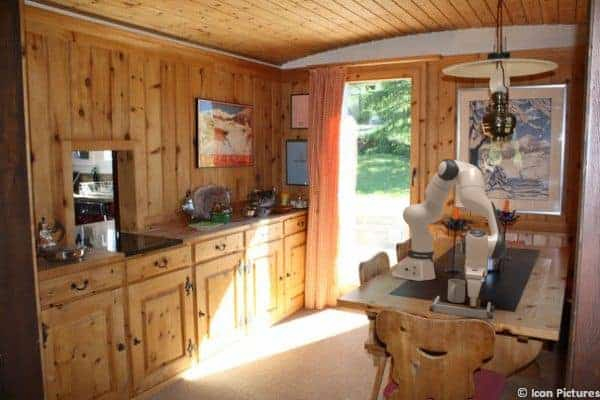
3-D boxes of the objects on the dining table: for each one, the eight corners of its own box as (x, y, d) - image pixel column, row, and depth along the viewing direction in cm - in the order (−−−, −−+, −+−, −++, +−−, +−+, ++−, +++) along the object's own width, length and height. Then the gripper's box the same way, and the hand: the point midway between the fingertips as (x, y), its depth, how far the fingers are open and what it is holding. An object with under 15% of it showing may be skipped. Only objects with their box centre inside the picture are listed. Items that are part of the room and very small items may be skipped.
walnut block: (468, 312, 207) (469, 300, 207) (469, 309, 211) (470, 298, 210) (479, 313, 206) (479, 302, 205) (479, 311, 209) (480, 299, 209)
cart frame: (429, 311, 209) (429, 304, 208) (433, 302, 221) (434, 295, 220) (492, 319, 199) (492, 312, 199) (493, 309, 211) (494, 302, 210)
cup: (466, 300, 224) (467, 280, 223) (459, 305, 216) (460, 285, 215) (450, 297, 228) (451, 278, 227) (443, 302, 220) (443, 283, 219)
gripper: (470, 263, 217) (468, 294, 219) (465, 274, 198) (464, 308, 200) (485, 264, 215) (484, 296, 216) (482, 276, 196) (480, 310, 198)
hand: (474, 302), depth 208 cm, fingers open, 8 cm apart
